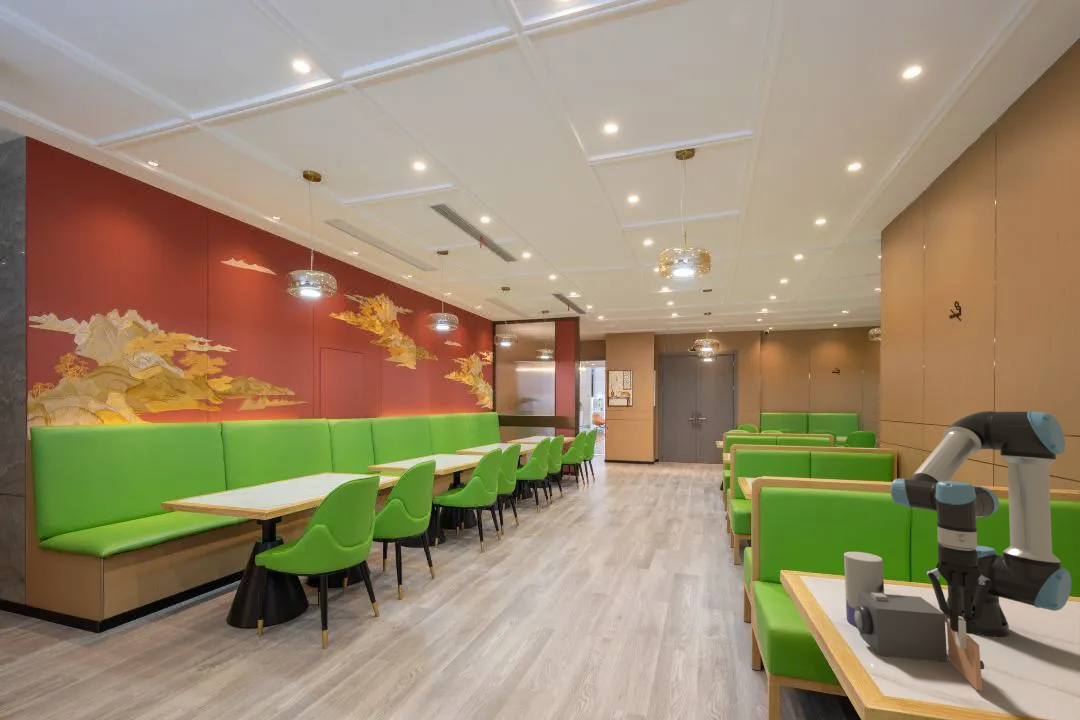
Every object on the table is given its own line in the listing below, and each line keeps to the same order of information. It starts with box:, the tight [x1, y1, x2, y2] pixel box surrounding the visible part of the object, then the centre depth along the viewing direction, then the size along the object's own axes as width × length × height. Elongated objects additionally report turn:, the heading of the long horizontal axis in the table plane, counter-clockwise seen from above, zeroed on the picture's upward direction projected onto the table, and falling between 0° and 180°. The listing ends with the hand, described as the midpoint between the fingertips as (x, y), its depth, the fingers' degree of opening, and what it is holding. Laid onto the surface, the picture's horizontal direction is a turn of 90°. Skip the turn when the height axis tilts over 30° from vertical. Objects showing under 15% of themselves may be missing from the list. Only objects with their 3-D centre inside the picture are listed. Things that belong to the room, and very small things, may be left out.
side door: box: [946, 619, 985, 691], centre depth 123 cm, size 15×2×10 cm, turn 160°
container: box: [843, 551, 885, 627], centre depth 154 cm, size 10×10×20 cm
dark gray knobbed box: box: [855, 592, 948, 663], centre depth 139 cm, size 18×12×13 cm, turn 78°
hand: (961, 645), depth 122 cm, fingers closed
